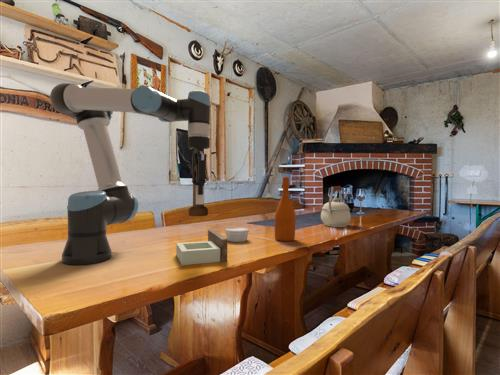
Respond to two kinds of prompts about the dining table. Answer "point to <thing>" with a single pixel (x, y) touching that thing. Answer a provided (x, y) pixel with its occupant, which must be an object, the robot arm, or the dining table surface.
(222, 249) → the backstop wall
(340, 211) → the kettle
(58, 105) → the robot arm
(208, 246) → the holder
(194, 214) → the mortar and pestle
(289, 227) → the wine bottle
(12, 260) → the dining table surface
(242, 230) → the ramekin
